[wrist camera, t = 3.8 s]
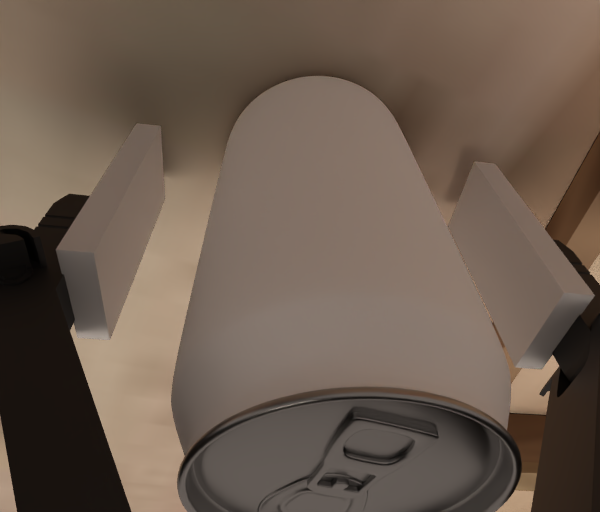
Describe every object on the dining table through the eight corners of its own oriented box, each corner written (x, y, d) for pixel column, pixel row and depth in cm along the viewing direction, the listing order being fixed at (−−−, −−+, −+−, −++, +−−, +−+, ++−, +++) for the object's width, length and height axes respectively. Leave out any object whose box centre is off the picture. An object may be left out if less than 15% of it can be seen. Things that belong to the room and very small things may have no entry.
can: (204, 201, 18) (116, 543, 9) (262, 37, 14) (216, 318, 5) (352, 251, 20) (412, 581, 10) (437, 115, 16) (649, 434, 7)
